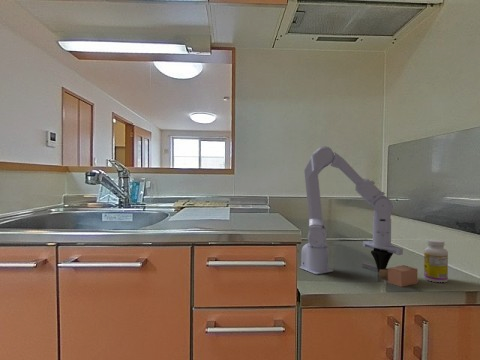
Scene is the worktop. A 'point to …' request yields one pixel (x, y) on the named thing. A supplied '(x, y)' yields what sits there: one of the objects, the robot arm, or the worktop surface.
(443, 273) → the supplement bottle
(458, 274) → the worktop surface
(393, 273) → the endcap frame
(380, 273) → the brown rectangular block
